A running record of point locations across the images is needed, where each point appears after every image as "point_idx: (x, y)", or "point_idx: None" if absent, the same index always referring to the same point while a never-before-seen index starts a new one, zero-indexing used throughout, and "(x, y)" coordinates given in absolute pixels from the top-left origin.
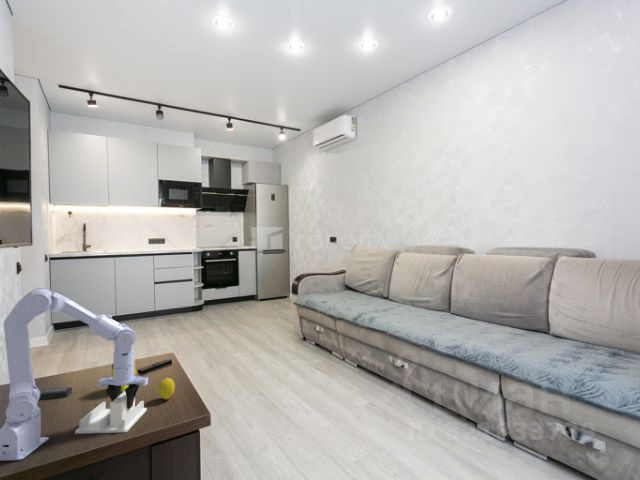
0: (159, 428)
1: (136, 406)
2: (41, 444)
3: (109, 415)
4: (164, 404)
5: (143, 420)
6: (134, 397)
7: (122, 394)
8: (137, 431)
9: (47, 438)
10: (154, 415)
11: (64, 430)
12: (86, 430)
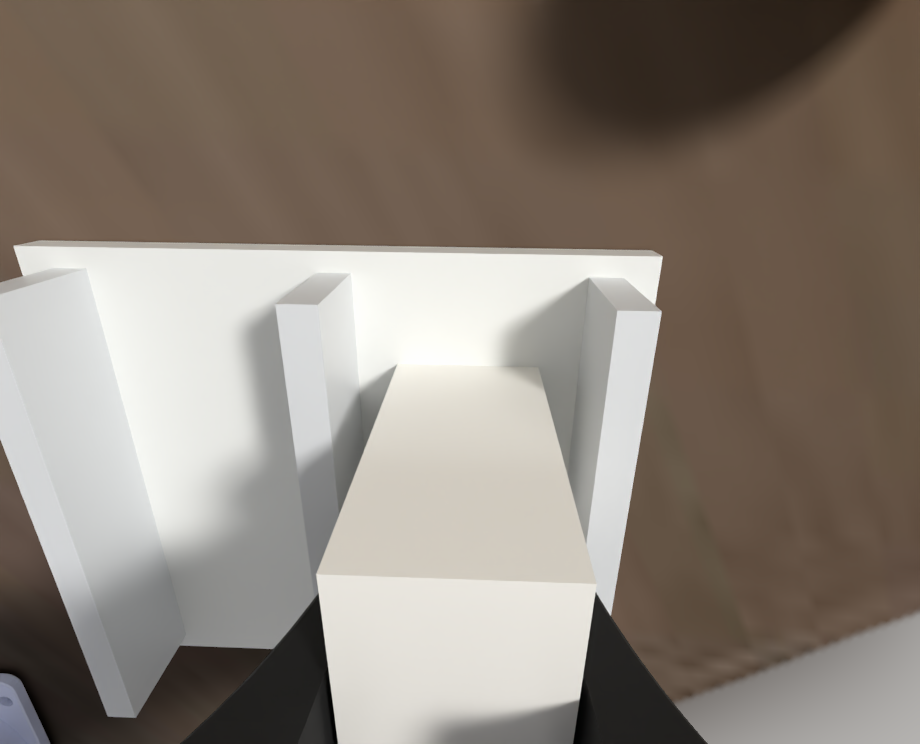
0: (882, 612)
1: (606, 486)
2: (42, 727)
3: None
4: (887, 63)
5: (684, 477)
6: (631, 654)
7: (373, 694)
8: (686, 635)
9: (13, 695)
10: (787, 385)
11: (13, 575)
12: (238, 645)
